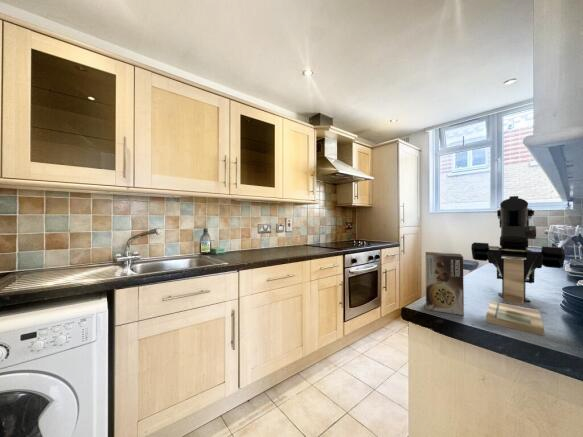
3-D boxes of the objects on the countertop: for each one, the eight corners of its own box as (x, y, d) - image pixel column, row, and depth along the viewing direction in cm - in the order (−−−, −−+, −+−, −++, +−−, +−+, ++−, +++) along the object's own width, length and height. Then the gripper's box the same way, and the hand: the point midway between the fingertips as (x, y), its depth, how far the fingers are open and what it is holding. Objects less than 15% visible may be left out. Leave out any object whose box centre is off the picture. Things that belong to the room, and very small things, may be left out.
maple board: (490, 306, 71) (490, 300, 71) (538, 315, 64) (538, 309, 64) (486, 321, 59) (486, 315, 59) (544, 335, 52) (544, 328, 52)
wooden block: (504, 296, 66) (504, 257, 66) (523, 299, 63) (523, 259, 64) (503, 301, 62) (503, 259, 62) (523, 304, 59) (523, 261, 59)
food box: (460, 308, 68) (461, 253, 68) (464, 316, 63) (464, 256, 63) (425, 302, 73) (425, 251, 73) (425, 309, 67) (425, 253, 67)
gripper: (472, 216, 72) (466, 255, 64) (564, 216, 60) (571, 264, 51) (475, 240, 78) (470, 278, 70) (559, 244, 65) (566, 292, 57)
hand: (513, 278), depth 62 cm, fingers closed on wooden block, 4 cm apart
